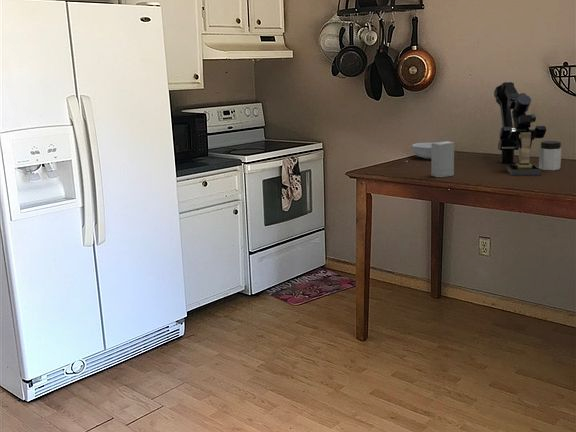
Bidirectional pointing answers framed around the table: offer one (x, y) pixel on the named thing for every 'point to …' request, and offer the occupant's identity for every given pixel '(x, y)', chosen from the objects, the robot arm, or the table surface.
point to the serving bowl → (423, 150)
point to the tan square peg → (525, 147)
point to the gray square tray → (523, 169)
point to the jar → (550, 155)
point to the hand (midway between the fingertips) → (525, 147)
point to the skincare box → (442, 159)
